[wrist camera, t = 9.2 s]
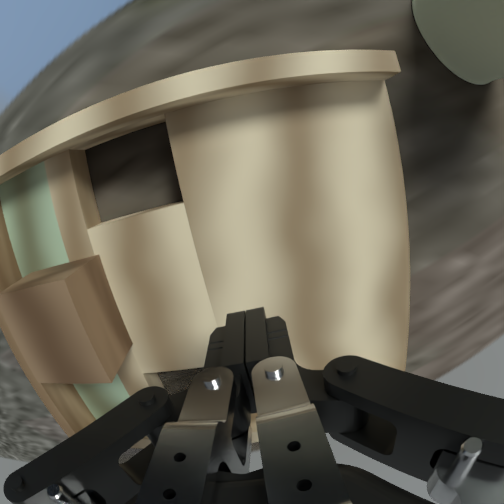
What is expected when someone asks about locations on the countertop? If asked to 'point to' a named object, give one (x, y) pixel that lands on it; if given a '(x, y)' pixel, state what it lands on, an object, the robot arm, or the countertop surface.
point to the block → (67, 323)
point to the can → (465, 36)
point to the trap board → (228, 218)
